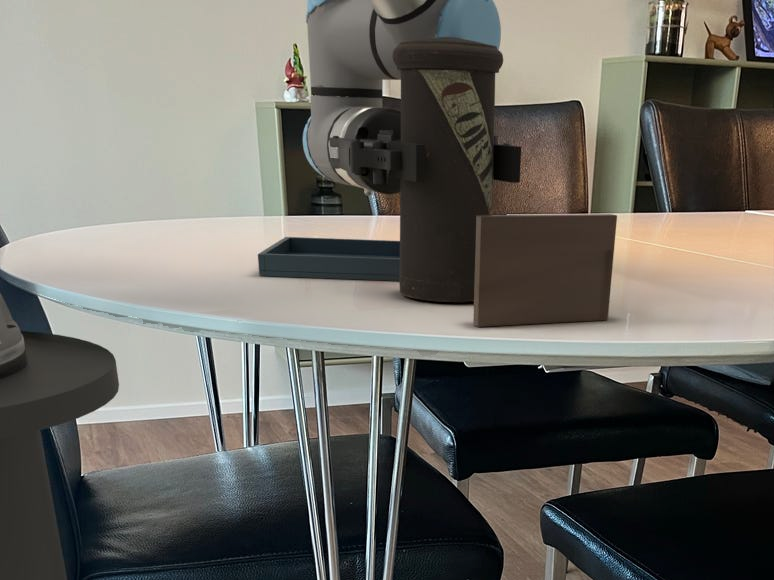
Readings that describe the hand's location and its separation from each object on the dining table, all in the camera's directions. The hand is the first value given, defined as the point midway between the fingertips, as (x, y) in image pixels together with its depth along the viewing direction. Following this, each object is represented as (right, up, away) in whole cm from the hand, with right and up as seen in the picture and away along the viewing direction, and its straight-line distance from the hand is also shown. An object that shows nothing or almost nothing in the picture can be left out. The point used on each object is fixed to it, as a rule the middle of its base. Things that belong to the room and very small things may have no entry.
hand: (469, 164), depth 81 cm
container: (-2, -8, +9) cm, 12 cm away
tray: (-13, 0, +22) cm, 26 cm away
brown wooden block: (+3, -10, +5) cm, 11 cm away
